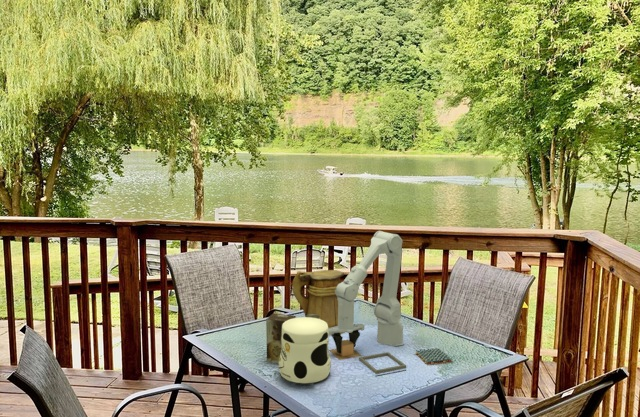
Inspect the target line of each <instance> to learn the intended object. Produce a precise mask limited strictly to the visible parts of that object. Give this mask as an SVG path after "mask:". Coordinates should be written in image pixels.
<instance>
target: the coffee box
mask: <svg viewBox="0 0 640 417" xmlns="http://www.w3.org/2000/svg"><path fill="white" fill-rule="evenodd" d="M293 318H297V317H296V315H290V314H282V313H272V314H270V315H269V316H267V318H265V326H266V328H265V329H266V330H265V331H266V362H267V363H271V364H276V365H277V364H278V365H279V358H280V354H281V349H282V342H281V337H282V325H283V323H284V322H285V321H287V320H289V319H293Z"/></svg>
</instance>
